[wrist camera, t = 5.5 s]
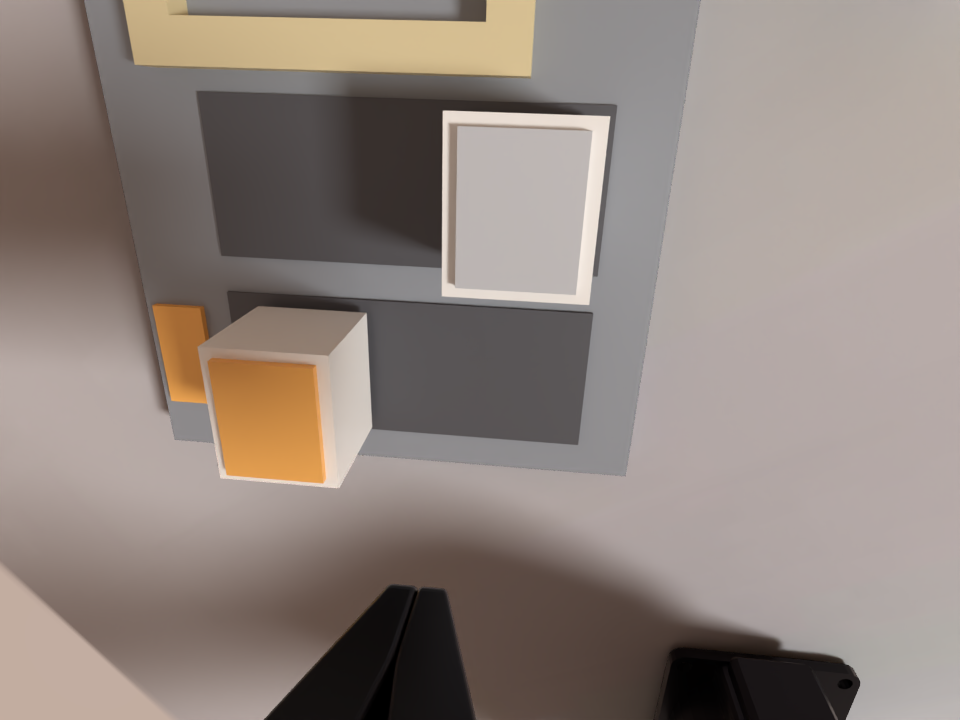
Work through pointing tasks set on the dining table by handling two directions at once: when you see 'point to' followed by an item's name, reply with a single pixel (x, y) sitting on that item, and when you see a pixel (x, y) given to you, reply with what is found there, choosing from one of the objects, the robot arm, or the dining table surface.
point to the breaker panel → (394, 200)
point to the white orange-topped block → (289, 395)
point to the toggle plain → (521, 205)
